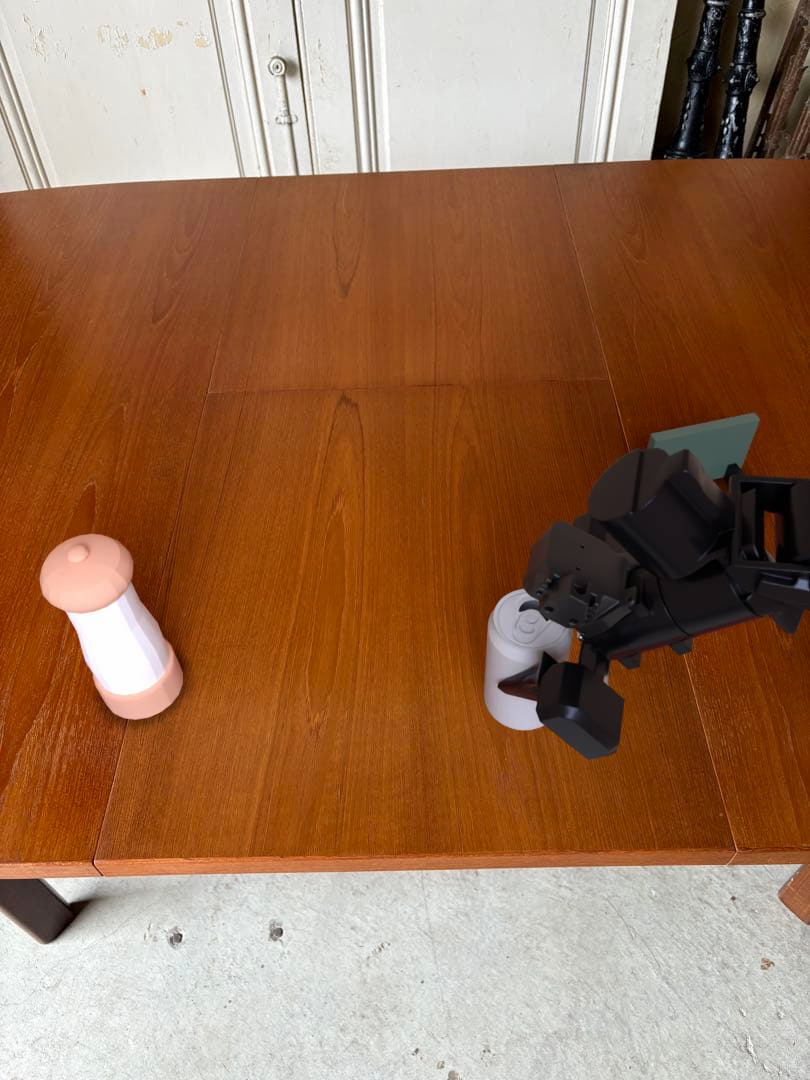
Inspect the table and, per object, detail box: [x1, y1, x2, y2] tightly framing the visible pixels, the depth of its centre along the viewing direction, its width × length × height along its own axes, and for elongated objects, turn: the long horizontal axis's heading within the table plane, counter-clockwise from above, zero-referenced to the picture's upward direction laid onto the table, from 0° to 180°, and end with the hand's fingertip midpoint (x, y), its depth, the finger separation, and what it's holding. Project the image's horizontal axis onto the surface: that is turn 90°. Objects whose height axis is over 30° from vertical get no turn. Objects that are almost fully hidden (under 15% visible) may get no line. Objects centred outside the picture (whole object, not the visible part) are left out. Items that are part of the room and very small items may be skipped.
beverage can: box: [483, 588, 574, 731], centre depth 65 cm, size 6×6×12 cm
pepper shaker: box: [39, 533, 184, 721], centre depth 68 cm, size 7×7×19 cm
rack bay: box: [646, 412, 761, 484], centre depth 86 cm, size 7×12×8 cm, turn 105°
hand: (509, 653), depth 64 cm, fingers closed on beverage can, 6 cm apart
